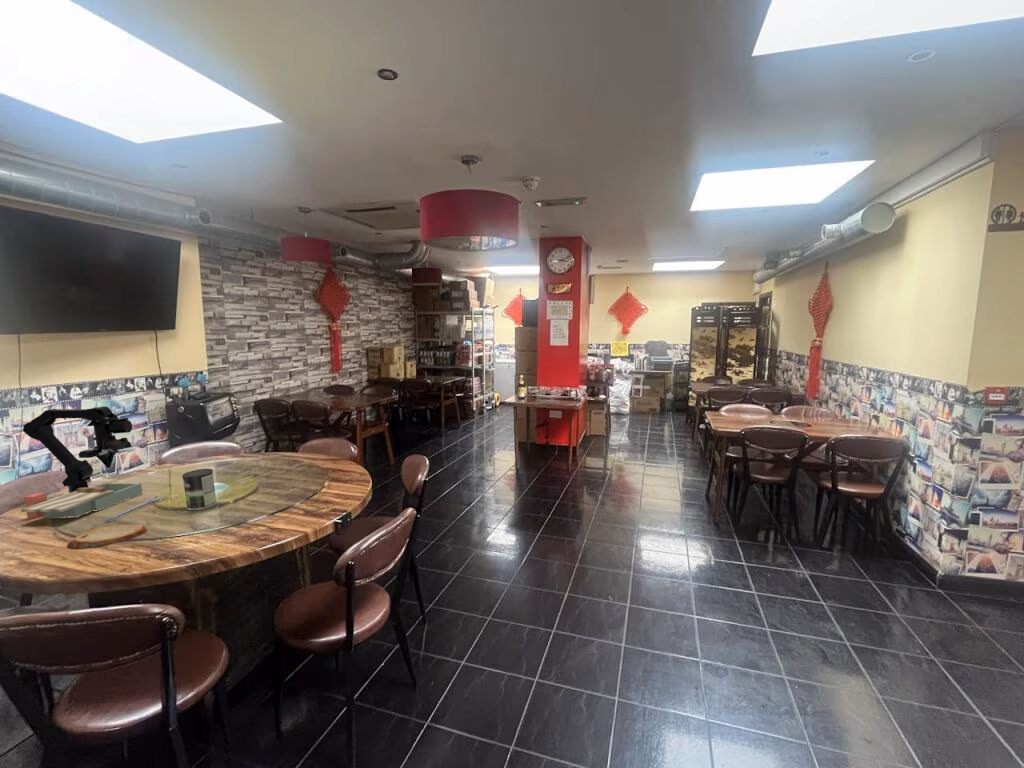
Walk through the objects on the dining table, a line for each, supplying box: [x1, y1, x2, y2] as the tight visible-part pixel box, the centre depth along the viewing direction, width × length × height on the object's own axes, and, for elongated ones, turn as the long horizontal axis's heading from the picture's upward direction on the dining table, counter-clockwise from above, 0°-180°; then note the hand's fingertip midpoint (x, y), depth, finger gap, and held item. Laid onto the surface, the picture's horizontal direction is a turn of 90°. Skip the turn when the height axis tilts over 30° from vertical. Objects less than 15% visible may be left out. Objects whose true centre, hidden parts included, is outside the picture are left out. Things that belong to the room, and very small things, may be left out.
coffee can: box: [181, 468, 218, 511], centre depth 181 cm, size 10×10×14 cm
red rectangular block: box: [23, 492, 48, 519], centre depth 179 cm, size 4×4×9 cm
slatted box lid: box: [20, 486, 114, 513], centre depth 179 cm, size 18×20×3 cm
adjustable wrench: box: [103, 494, 167, 522], centre depth 182 cm, size 25×6×2 cm, turn 170°
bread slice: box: [66, 524, 149, 550], centre depth 155 cm, size 18×18×4 cm
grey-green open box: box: [44, 482, 143, 519], centre depth 189 cm, size 18×26×5 cm
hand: (108, 467), depth 203 cm, fingers closed
